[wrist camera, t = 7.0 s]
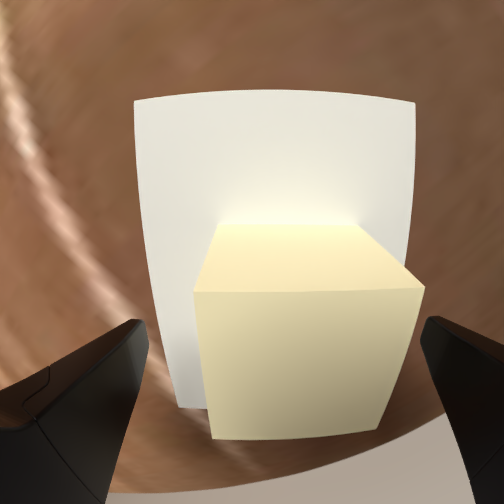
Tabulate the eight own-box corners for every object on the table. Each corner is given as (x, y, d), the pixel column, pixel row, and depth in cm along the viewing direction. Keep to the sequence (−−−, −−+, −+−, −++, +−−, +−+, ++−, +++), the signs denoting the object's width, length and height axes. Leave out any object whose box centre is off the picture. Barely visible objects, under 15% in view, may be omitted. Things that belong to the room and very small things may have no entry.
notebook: (387, 107, 11) (415, 102, 9) (359, 369, 16) (371, 399, 14) (154, 107, 11) (134, 100, 9) (186, 376, 16) (178, 407, 14)
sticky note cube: (358, 225, 11) (425, 287, 6) (341, 339, 12) (376, 428, 8) (218, 224, 11) (192, 291, 6) (223, 341, 12) (211, 439, 8)
